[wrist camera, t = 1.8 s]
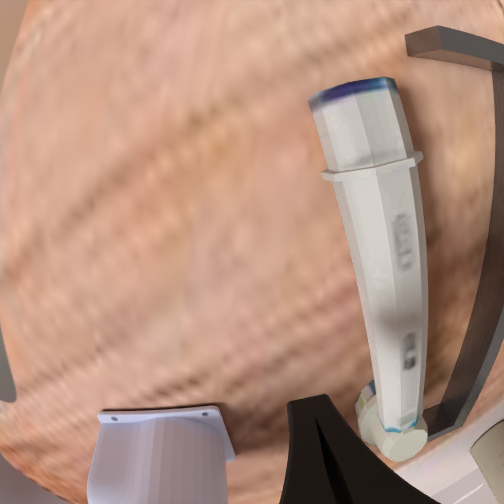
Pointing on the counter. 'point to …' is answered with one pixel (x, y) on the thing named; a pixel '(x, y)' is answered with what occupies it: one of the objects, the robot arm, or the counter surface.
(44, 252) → the counter surface
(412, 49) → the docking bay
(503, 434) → the travel mug
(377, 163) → the white handheld device
